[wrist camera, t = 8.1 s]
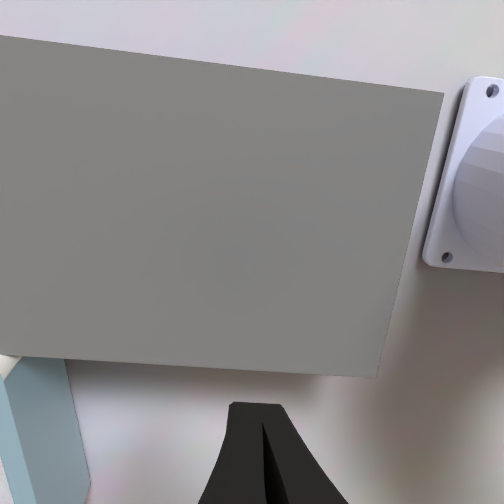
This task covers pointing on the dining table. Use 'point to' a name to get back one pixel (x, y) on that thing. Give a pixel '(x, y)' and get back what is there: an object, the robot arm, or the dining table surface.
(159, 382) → the dining table surface
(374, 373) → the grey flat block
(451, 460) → the dining table surface
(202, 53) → the dining table surface
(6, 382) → the side door
